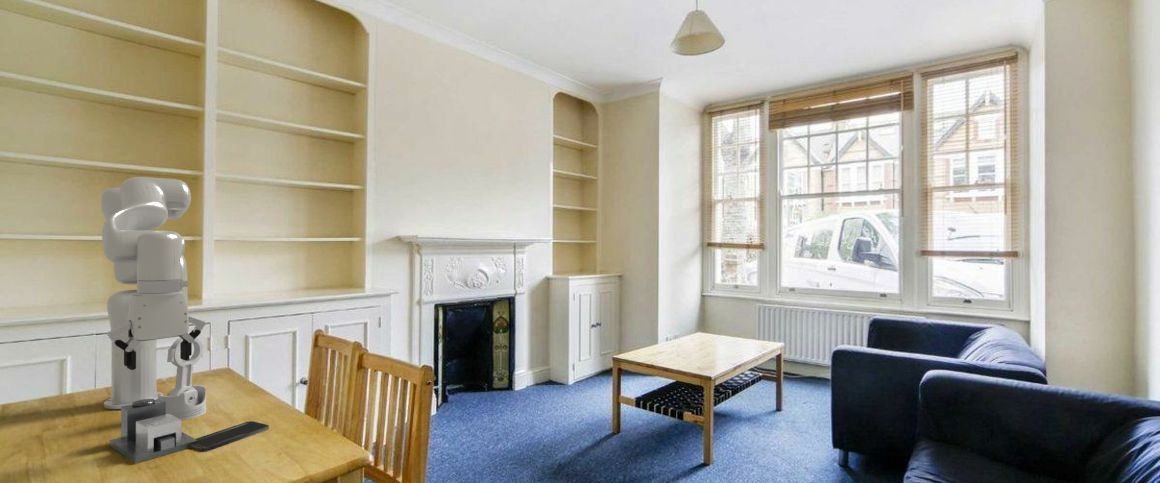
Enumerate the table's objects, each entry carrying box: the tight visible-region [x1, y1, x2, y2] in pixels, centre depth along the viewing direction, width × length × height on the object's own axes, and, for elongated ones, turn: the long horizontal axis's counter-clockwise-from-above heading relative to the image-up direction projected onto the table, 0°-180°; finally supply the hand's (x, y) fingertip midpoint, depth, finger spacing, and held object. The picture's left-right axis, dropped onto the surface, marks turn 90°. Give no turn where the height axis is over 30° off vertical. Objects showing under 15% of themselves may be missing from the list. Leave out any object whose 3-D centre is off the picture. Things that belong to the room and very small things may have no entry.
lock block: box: [136, 414, 183, 452], centre depth 113 cm, size 6×7×5 cm
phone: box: [190, 420, 270, 452], centre depth 120 cm, size 8×1×15 cm
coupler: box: [108, 399, 198, 465], centre depth 115 cm, size 16×11×9 cm
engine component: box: [158, 336, 207, 421], centre depth 134 cm, size 11×20×10 cm
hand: (159, 364), depth 114 cm, fingers open, 9 cm apart
